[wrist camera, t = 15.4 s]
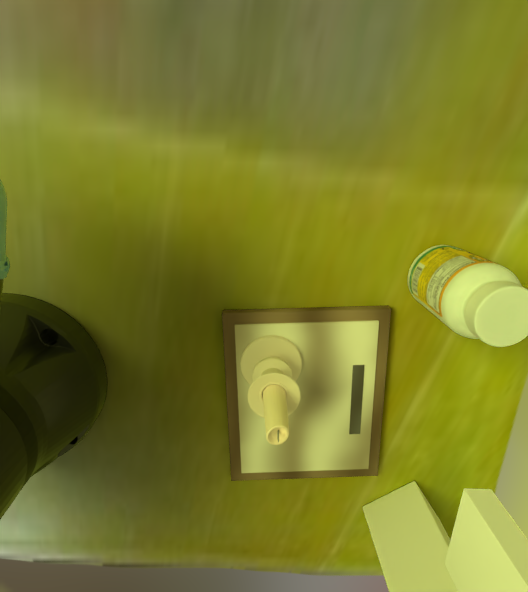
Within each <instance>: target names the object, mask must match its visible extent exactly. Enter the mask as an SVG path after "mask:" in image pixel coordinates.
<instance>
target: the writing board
mask: <svg viewBox="0 0 528 592" xmlns="http://www.w3.org/2000/svg"><path fill="white" fill-rule="evenodd" d="M390 317H391V308H390V307H389V306H355V307H318V308H282V309H246V310H223V311H222V321H223V339H224V357H225V375H226V392H227V410H228V428H229V446H230V464H231V481H235V480H264V479H294V478H323V477H352V476H378V464H379V452H380V440H381V428H382V415H383V403H384V391H385V378H386V366H387V354H388V342H389V329H390ZM266 335H277V336H282V337H284V338H286V339H288V340H290V341H291V342H292V343H293V344H295V346H296V347H297V349H298V350H299V352H300V355H301V358H302V369H301V373H300V375H299V377H298V378H297V380H296V381H295V382H296V383H297V385H298V387H299V390H300V402H299V405H298V407H297V408H296V410H295V411H294V412H293V413H292V414H290V415H288V423H289V436H288V438H287V440H286V441H285V442H284V443H282V444H280V445H272V444H270V443H269V442H268V441H267V439H266V428H265V418H263V417H260V416H258V415H257V414H256V413H255V412H253V410H252V409H251V408H250V405H249V403H248V390H249V388H250V386H251V385H250V384H248V383H247V381H246V380H245V379H244V377H243V374H242V372H241V364H240V363H241V357H242V353H243V352H244V350H245V348H246V347H247V346H248V345H249V344H250V343H251V342H252V341H254V340H255V339H257V338H259V337H262V336H266Z"/></svg>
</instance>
